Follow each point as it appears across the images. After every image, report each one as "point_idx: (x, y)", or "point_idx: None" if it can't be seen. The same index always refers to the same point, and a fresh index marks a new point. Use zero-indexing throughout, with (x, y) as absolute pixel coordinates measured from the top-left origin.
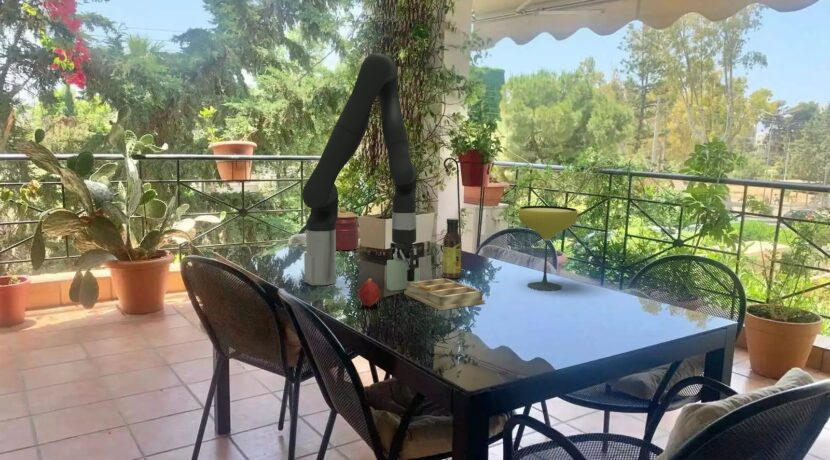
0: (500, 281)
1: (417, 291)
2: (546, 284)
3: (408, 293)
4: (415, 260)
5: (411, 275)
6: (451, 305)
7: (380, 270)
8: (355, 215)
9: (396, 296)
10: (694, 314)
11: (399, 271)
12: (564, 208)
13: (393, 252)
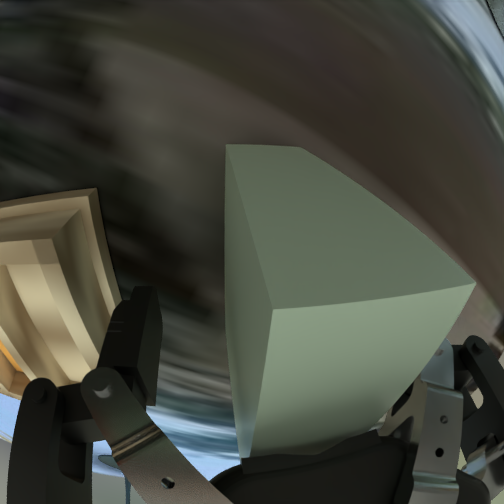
0: (193, 458)
1: None
2: (117, 467)
3: (42, 199)
4: None
5: (109, 336)
6: None
7: (499, 290)
8: None
9: (64, 116)
10: (7, 440)
11: (237, 303)
12: None
13: (489, 413)
